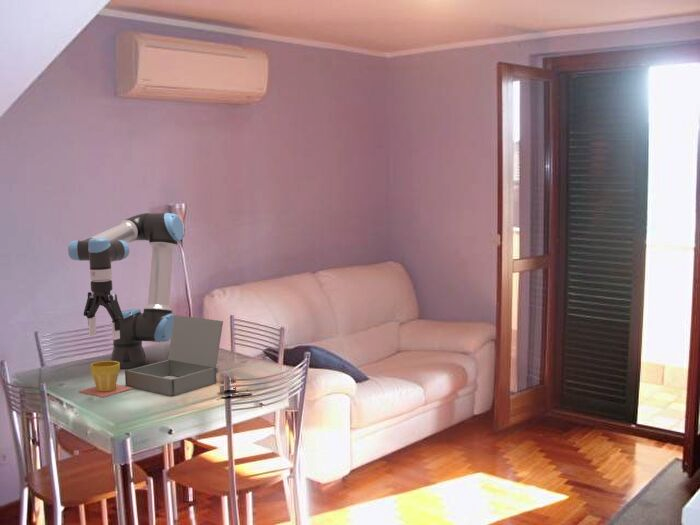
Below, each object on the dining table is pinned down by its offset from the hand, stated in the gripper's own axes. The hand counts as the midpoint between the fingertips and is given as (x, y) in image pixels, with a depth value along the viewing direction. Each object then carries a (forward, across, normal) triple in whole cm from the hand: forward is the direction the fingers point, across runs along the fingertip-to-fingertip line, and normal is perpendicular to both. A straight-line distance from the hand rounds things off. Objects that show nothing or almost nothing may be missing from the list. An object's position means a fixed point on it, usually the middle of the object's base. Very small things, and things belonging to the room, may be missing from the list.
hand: (104, 337), depth 289 cm
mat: (+20, 0, -1) cm, 20 cm away
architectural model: (+21, +40, +23) cm, 50 cm away
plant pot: (+20, 0, -1) cm, 20 cm away
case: (+20, +14, +18) cm, 31 cm away
